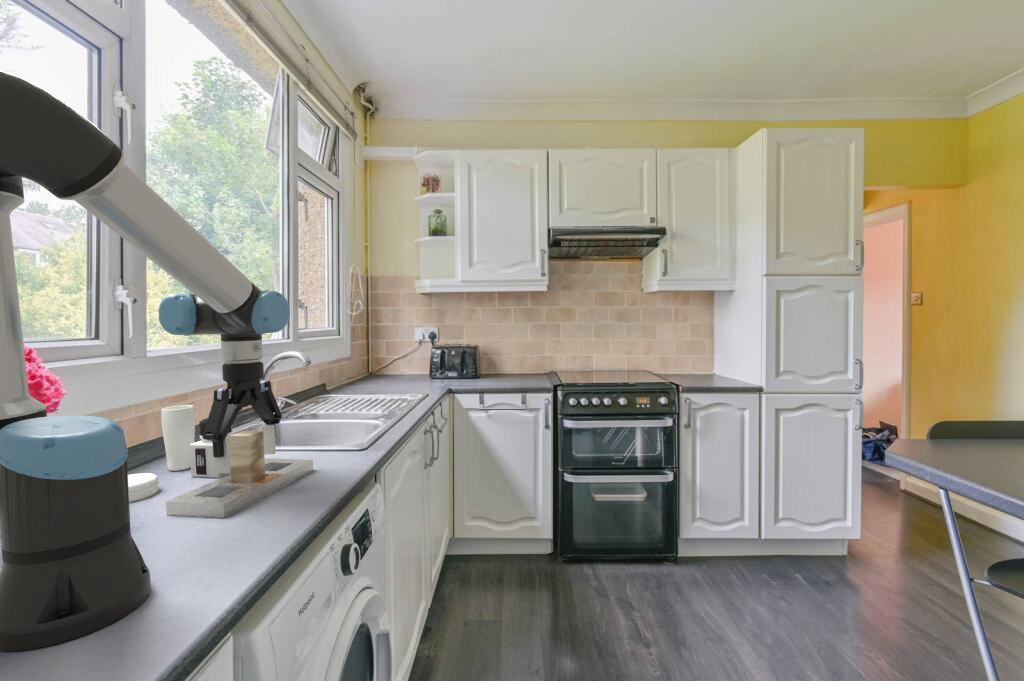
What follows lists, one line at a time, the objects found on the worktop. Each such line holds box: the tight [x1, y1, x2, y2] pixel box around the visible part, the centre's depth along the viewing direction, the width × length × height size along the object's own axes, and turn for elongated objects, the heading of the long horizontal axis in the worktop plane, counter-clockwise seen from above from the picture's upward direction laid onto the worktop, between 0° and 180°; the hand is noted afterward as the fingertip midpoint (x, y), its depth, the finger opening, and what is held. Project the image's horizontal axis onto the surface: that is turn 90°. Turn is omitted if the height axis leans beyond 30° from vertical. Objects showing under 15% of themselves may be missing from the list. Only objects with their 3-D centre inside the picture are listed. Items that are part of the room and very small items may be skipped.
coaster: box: [128, 472, 160, 503], centre depth 101 cm, size 10×10×4 cm
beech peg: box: [229, 430, 266, 483], centre depth 103 cm, size 4×4×12 cm
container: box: [190, 417, 233, 479], centre depth 116 cm, size 8×8×13 cm
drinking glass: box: [160, 404, 196, 472], centre depth 120 cm, size 7×7×15 cm
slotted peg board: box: [165, 458, 314, 519], centre depth 103 cm, size 28×12×3 cm, turn 170°
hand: (247, 462), depth 103 cm, fingers open, 13 cm apart
